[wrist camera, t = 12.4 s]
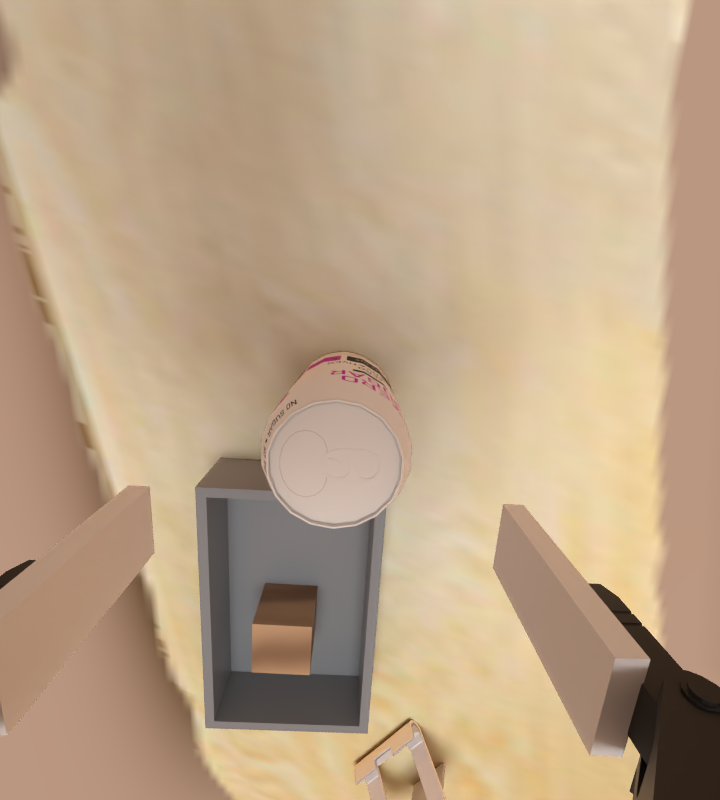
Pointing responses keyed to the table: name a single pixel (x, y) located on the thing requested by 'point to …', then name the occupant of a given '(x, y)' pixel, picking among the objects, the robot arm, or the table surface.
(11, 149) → the table surface
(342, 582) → the tote
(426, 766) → the portable electronic device stand
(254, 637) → the walnut cube
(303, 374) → the supplement can
